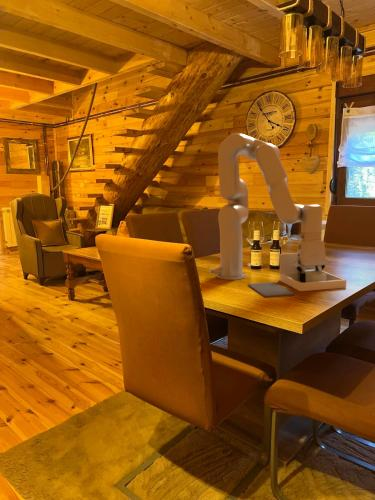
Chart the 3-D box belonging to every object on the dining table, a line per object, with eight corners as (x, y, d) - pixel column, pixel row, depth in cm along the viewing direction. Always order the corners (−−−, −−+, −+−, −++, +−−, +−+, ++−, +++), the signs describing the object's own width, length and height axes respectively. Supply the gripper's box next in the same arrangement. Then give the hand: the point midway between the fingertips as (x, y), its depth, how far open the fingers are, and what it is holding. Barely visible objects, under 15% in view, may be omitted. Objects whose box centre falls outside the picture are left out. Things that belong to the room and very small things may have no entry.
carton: (300, 291, 136) (301, 262, 135) (279, 280, 153) (280, 254, 152) (346, 287, 140) (347, 259, 138) (320, 277, 157) (321, 251, 155)
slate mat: (265, 297, 130) (265, 295, 130) (248, 285, 146) (248, 284, 146) (294, 295, 132) (294, 293, 132) (274, 283, 149) (274, 282, 148)
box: (312, 288, 140) (313, 275, 140) (297, 280, 152) (297, 268, 151) (325, 287, 141) (326, 274, 141) (309, 279, 153) (310, 267, 152)
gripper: (295, 238, 139) (294, 285, 142) (336, 236, 143) (334, 282, 146) (286, 236, 147) (285, 281, 150) (325, 234, 150) (324, 278, 153)
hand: (309, 281), depth 148 cm, fingers closed on box, 5 cm apart
